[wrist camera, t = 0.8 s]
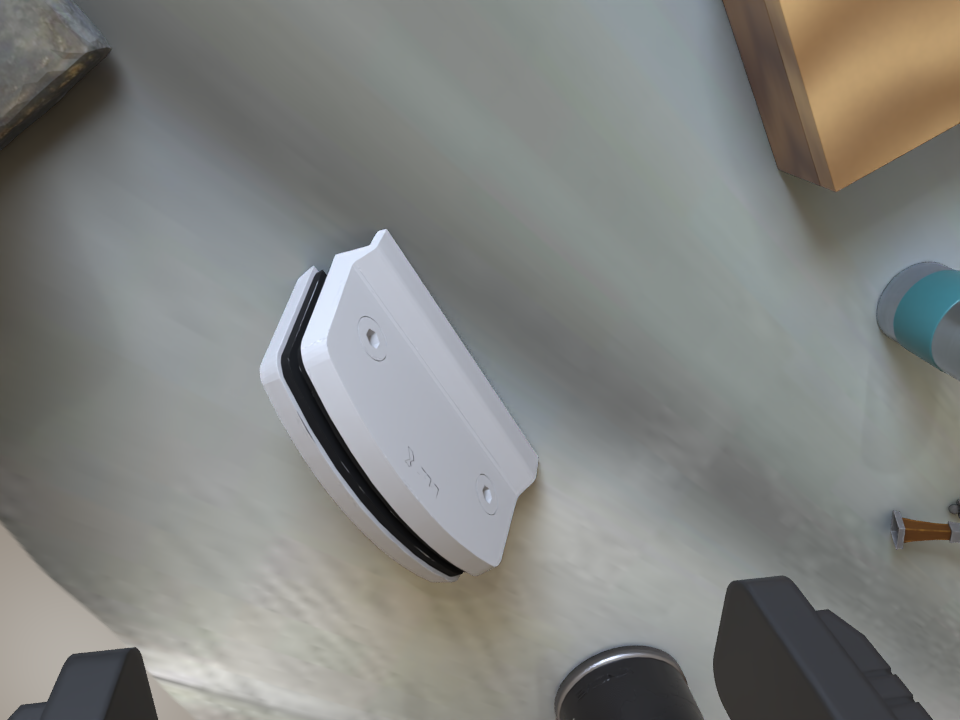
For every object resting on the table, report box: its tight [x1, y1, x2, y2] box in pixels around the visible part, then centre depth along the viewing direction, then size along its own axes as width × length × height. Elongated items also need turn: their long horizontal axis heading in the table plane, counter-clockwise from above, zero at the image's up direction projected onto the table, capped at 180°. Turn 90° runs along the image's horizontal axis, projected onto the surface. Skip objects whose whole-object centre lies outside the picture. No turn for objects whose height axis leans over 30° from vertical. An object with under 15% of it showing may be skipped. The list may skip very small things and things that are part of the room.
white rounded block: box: [260, 229, 539, 582], centre depth 36 cm, size 17×5×10 cm, turn 29°
